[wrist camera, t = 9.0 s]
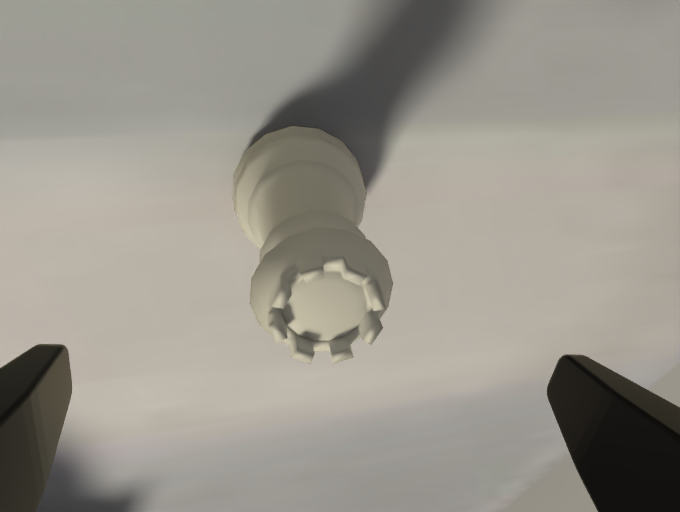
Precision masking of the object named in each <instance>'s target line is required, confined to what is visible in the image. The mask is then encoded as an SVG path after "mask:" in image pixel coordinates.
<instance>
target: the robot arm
mask: <svg viewBox="0 0 680 512" xmlns="http://www.w3.org/2000/svg"><path fill="white" fill-rule="evenodd" d="M71 394H72V379H71V370H70V362H69V354H68V350H67V348H66V347H65V346H64V345H61V344H39V345H36V346H34V347H32V348H31V349H29V350H28V351H26V352H25V353H23V354H21V355H20V356H18V357H17V358H15V359H14V360H12V361H11V362H9V363H7V364H6V365H4V366H3V367H1V368H0V512H36V509H37V507H38V504H39V502H40V499H41V497H42V494H43V491H44V489H45V486H46V483H47V480H48V476H49V473H50V470H51V466H52V463H53V459H54V456H55V452H56V448H57V445H58V441H59V438H60V434H61V431H62V427H63V424H64V420H65V417H66V413H67V410H68V406H69V403H70V399H71ZM547 396H548V400H549V403H550V405H551V407H552V410H553V412H554V415H555V417H556V420H557V422H558V425H559V427H560V430H561V432H562V435H563V437H564V440H565V442H566V445H567V447H568V450H569V452H570V455H571V457H572V460H573V462H574V464H575V467H576V469H577V471H578V473H579V475H580V477H581V479H582V481H583V483H584V485H585V487H586V489H587V491H588V493H589V495H590V497H591V499H592V501H593V503H594V504H595V507H596V509H597V511H598V512H680V407H678V406H676V405H674V404H672V403H671V402H669V401H667V400H665V399H663V398H661V397H659V396H658V395H656V394H654V393H652V392H650V391H649V390H647V389H645V388H643V387H641V386H639V385H638V384H636V383H634V382H632V381H630V380H628V379H627V378H625V377H623V376H621V375H619V374H617V373H616V372H614V371H612V370H610V369H608V368H607V367H605V366H603V365H601V364H599V363H597V362H596V361H594V360H592V359H590V358H588V357H586V356H584V355H563V356H562V357H561V358H560V359H559V361H558V363H557V365H556V367H555V370H554V372H553V374H552V377H551V379H550V381H549V384H548V387H547Z"/></svg>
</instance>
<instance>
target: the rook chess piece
mask: <svg viewBox="0 0 680 512" xmlns="http://www.w3.org/2000/svg"><path fill="white" fill-rule="evenodd" d="M365 199H366V190H365V186H364V182H363V178H362V174H361V171H360V169H359V165H358V161H357V160H356V158H355V157H354V156H353V155H352V153H351V152H350V151H349V150H348V148H347V147H346V146H345V144H344V143H343V142H342V141H341V140H339V139H337V138H335V137H333V136H332V135H330V134H328V133H326V132H324V131H322V130H320V129H318V128H308V127H297V126H290V127H287V128H284V129H280V130H277V131H274V132H271V133H267V134H265V135H264V136H263V137H262V138H260V139H259V140H258V141H257V142H256V143H254V144H253V145H252V146H251V147H250V148H248V149H247V150H246V151H245V153H244V155H243V157H242V159H241V161H240V163H239V165H238V167H237V169H236V171H235V173H234V180H233V201H234V210H235V212H236V215H237V217H238V220H239V222H240V225H241V227H242V230H243V232H244V233H245V234H246V236H247V237H248V238H249V239H250V240H251V241H252V242H254V243H255V244H256V245H257V246H258V247H259V248H260V264H259V266H258V267H257V269H256V271H255V273H254V275H253V276H252V278H251V293H250V304H251V307H252V309H253V311H254V314H255V316H256V318H257V321H258V323H259V325H260V326H261V327H262V328H263V329H264V330H266V331H267V332H268V333H269V334H270V335H271V336H272V337H273V339H274V341H275V343H278V342H281V343H284V344H287V345H289V346H290V355H291V357H292V358H295V359H298V360H301V361H304V362H307V363H310V364H311V361H312V359H313V356H314V351H330V355H331V359H332V364H334V363H337V362H340V361H343V360H346V359H350V358H353V353H352V350H351V346H350V344H352V343H353V342H354V341H356V340H357V339H359V338H360V337H361V338H362V339H363V340H364V341H366V342H368V343H369V344H372V343H373V341H374V340H375V339H376V337H377V336H378V334H379V333H380V331H381V330H382V329H383V327H382V325H381V322H380V318H381V316H382V315H383V314H384V312H385V311H386V309H387V308H388V305H389V300H390V296H391V291H392V286H393V281H392V278H391V274H390V270H389V266H388V262H387V260H386V258H385V257H384V256H383V255H382V254H381V253H380V251H379V250H378V249H377V248H376V247H375V246H374V244H373V243H372V242H371V241H369V240H367V239H366V238H365V236H364V234H363V233H362V232H361V231H360V230H359V229H358V226H359V224H360V223H361V221H362V217H363V211H364V205H365Z"/></svg>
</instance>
